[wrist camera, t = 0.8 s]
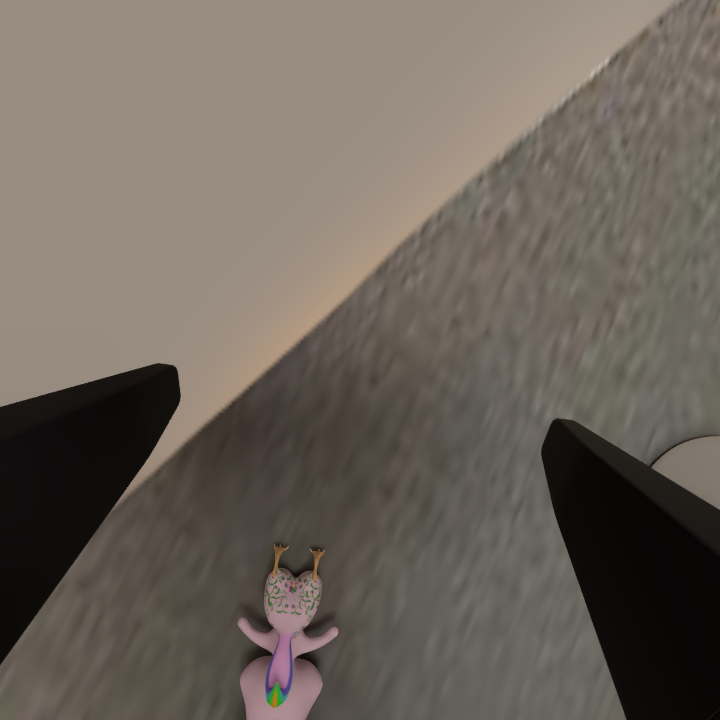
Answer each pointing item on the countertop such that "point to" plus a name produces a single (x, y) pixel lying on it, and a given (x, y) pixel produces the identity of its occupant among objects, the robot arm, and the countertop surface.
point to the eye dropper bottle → (694, 467)
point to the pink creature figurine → (285, 647)
